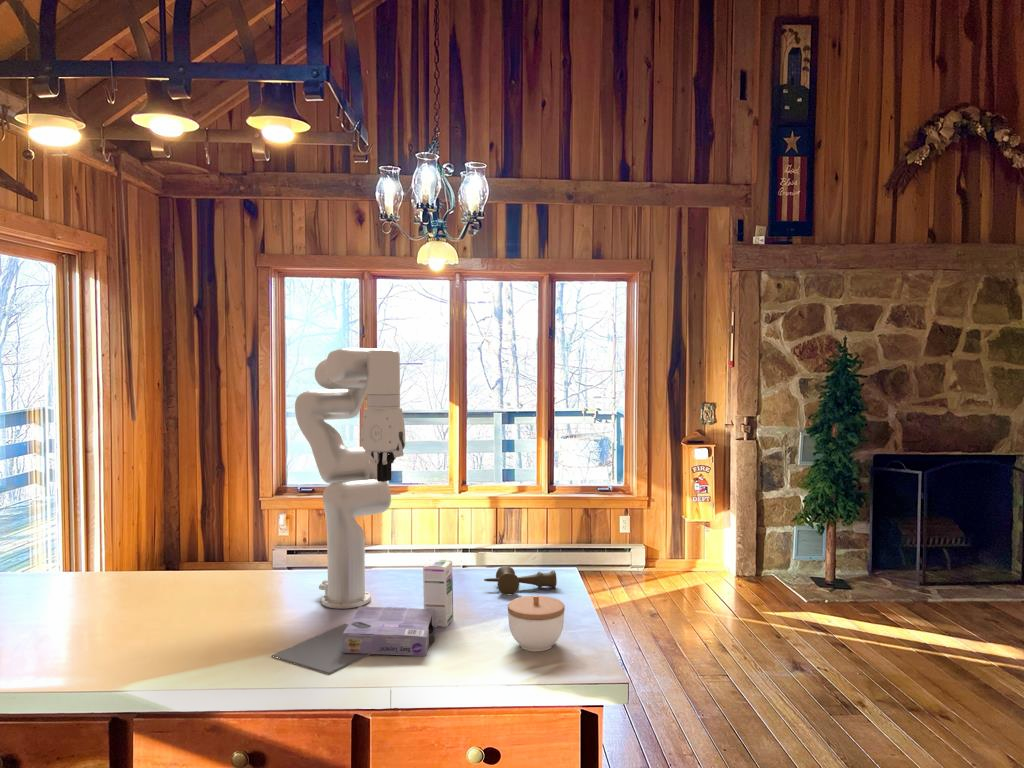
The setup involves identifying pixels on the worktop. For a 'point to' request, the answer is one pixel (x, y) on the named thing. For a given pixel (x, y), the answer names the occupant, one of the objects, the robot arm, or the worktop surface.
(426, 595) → the syrup box
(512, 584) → the kendama
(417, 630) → the cake pan box
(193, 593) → the worktop surface
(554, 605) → the lidded bowl
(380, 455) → the robot arm
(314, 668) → the rubber mat
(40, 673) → the worktop surface
